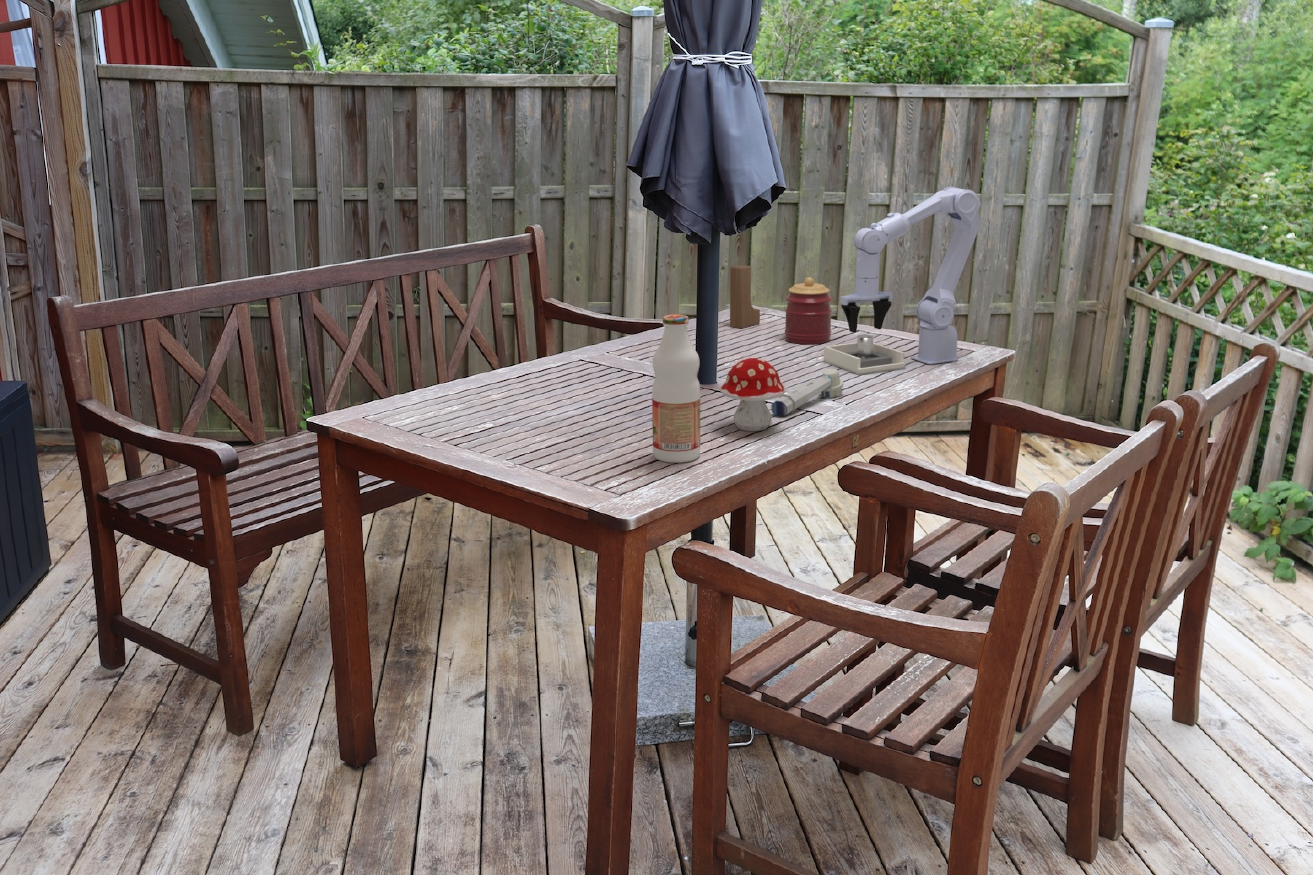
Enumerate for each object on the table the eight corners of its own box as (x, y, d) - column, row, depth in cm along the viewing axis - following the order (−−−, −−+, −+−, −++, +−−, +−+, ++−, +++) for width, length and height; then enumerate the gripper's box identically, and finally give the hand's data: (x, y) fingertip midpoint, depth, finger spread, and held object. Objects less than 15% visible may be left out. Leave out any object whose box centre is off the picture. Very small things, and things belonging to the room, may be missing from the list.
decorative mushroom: (764, 440, 241) (765, 369, 236) (707, 430, 248) (707, 361, 244) (796, 424, 251) (798, 356, 247) (741, 414, 259) (741, 348, 255)
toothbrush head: (767, 398, 258) (827, 361, 275) (769, 426, 260) (828, 387, 278) (787, 402, 255) (847, 364, 272) (789, 430, 257) (848, 391, 274)
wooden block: (748, 322, 353) (749, 262, 348) (760, 324, 350) (761, 264, 345) (729, 327, 347) (729, 266, 342) (741, 329, 344) (741, 267, 339)
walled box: (868, 355, 310) (868, 340, 309) (905, 368, 297) (906, 353, 295) (823, 361, 305) (823, 346, 303) (859, 375, 291) (859, 359, 290)
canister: (786, 345, 324) (787, 281, 318) (782, 334, 336) (784, 273, 331) (833, 344, 323) (835, 281, 318) (828, 334, 336) (830, 273, 330)
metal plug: (865, 360, 303) (867, 334, 301) (875, 364, 300) (876, 337, 297) (853, 362, 301) (854, 335, 299) (862, 365, 298) (863, 339, 296)
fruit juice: (675, 467, 225) (674, 323, 217) (643, 456, 232) (640, 316, 224) (710, 456, 232) (710, 316, 223) (677, 445, 238) (676, 309, 230)
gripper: (881, 272, 300) (879, 324, 304) (834, 277, 294) (832, 330, 298) (898, 276, 294) (896, 329, 298) (850, 281, 288) (848, 335, 292)
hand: (865, 330), depth 298 cm, fingers open, 7 cm apart
